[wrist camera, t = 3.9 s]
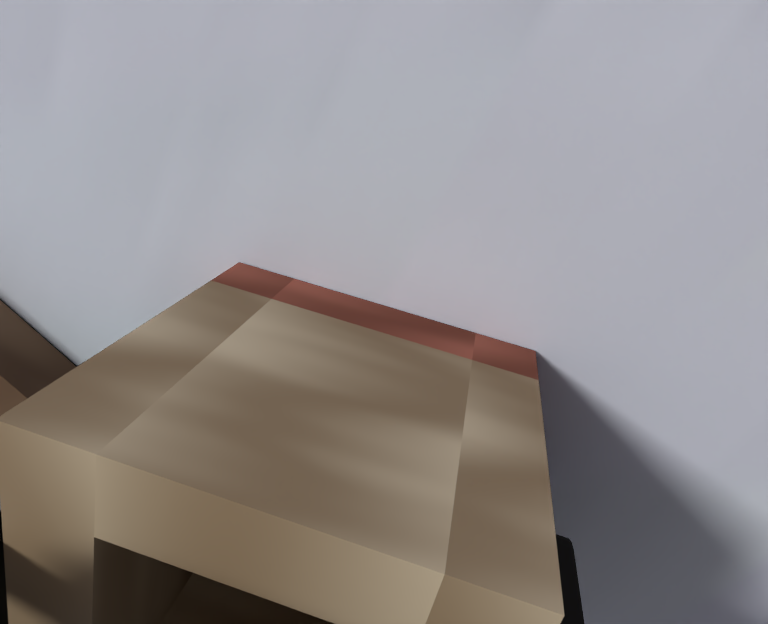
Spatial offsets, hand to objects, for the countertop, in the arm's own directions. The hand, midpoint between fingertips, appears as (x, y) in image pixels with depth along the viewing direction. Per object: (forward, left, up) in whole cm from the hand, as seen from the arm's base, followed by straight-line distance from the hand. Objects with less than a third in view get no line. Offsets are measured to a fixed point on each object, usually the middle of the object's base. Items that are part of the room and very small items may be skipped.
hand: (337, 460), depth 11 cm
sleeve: (0, 0, -1) cm, 1 cm away
